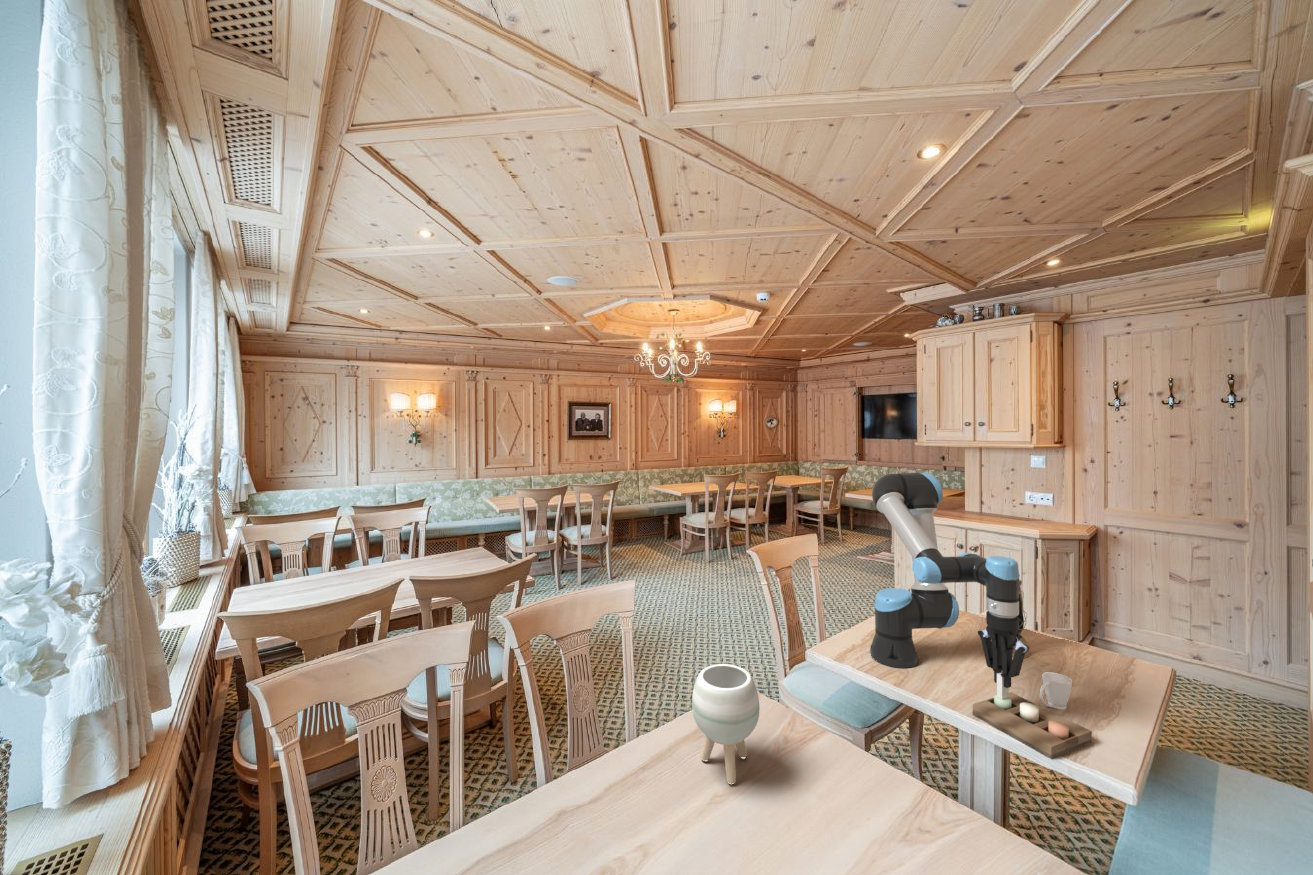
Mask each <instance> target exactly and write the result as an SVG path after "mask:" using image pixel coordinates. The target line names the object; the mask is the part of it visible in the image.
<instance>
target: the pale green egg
mask: <svg viewBox="0 0 1313 875" xmlns="http://www.w3.org/2000/svg"><path fill="white" fill-rule="evenodd" d="M993 698H994V704H995V705H997V706H999V707H1000V708H1002V709H1004V710H1008V709H1011V698H1010V697H1007V698H1004V699H1001V698H999V697H997V693H995V694H994V695H993Z"/></svg>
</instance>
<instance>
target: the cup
mask: <svg viewBox="0 0 1313 875" xmlns="http://www.w3.org/2000/svg"><path fill="white" fill-rule="evenodd" d="M1041 678H1042V683H1043V684H1042V685H1041V687H1040V690H1039V695H1038V696H1039V700H1040V701H1041V703H1043V705H1046V706H1048V707H1049V708H1052V709H1053V708H1055V709H1057V710H1067V707H1068V706H1067V704H1068V702H1069V700H1070V695H1071V691H1072V685H1073V680H1072V679H1071V678H1070V677H1069V676H1067V675H1065V674H1061V673H1057V672H1051V671H1050V672H1049V671H1048V672H1047V671H1044V672H1043V673H1042V674H1041ZM1044 693H1045V698H1046V700H1048V701H1047V703H1046V701H1045V700H1044Z"/></svg>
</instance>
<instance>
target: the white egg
mask: <svg viewBox="0 0 1313 875" xmlns="http://www.w3.org/2000/svg"><path fill="white" fill-rule="evenodd" d="M1020 717H1021V718H1023V719H1024V720H1026V721H1029V722H1038V721H1039V709H1038V707H1037V706H1035V705H1033V704H1030V703H1020Z"/></svg>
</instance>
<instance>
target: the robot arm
mask: <svg viewBox="0 0 1313 875" xmlns="http://www.w3.org/2000/svg"><path fill="white" fill-rule="evenodd" d="M943 495H944V494H943V488H942V484H941V483H940V481H939V479H938V478H936V476H935V475H933V474H932V473H926V472H904V473H903V472H902V473H887V474H884V475H882V476H880V478H879V479H877V480H876V481H875V483H874V485H873V488H872V490H871V498H872V502H873V504H874V506H875V508H876V509H877V511H878V512H879V513H880V514H884V516H885V517H886V519H887V521H888V522H889V523H890V525H891V527H892V529H893V530H894V531H895V533H896V534H897V536H898V538H899V539H900V541H901V542H902V544H904V546H905V548H906V549H907V551H908V552H909V555H910V557H911V563H912V564H911V567H912V568H911V569H912V572H913V577H914V583H913V584H912V585H911V586H910V590H908V589H906V588H897V587H888V588H884V589H881V590H879V591H878V592H877V593H876V594H875V597H874V605H873V606H874V622H875V623H874V624H875V628H874V629H875V630H874V631H875V632H874V636H873V639H872V642H871V645H870V648H869V649H870V650H869V654H871V655H870V657H871V656H872V657H873V658H874V659H875V660H874V659H873V658H872V657H871V658H872V659H873V660H874V661H876V660H877V661H878V662H877V661H876V662H877V663H879V662H880V663H879V664H881V665H885V666H888V667H891V668H899V669H908V668H909V669H910V668H913V667H916V666H917V665H918V663H919V654H918V652H917V651H916V647H915V644H914V643H915V642H914V640H913V630H915V629H916V630H917V629H940V630H941V629H945V628H951V627H953V626H955V624H956V623H957V621H958V619H959V615H960V607H959V602H958V601H957V599H956V597H955V595H954V594H952V593H951V592H949V587H947V586H946V585H945V584H947V583H948V584H949V583H956V584H957V583H977V584H980V585H982V586H984V587H985V588H986V589H985V590H986V592H985V597H986V598H985V599H986V602H985V603H986V606H985V607H986V610H987V611H986V613H985V618H986V619H985V620H986V621H985V623H986V625H987V626H986V628H984V629H980V630H978V631H977V635H978V636H979V638H980V640H981V644H982V649H983V653H984V658H985V663H986V666H987V667H988V668H990V669H992V671H993V677H994V678H993V682H994V683H995V684H996V694H997V697H999V698H1001V699H1004V698H1007V697H1009V693H1010V691H1009V690H1010V688H1011V687H1012V678H1016V677H1019V676H1020V672H1021V670H1022V666H1023V664H1024V659H1025V658H1024V656H1025V653H1026V652H1027V651H1028V650H1029V651H1030V646H1028V644H1027V645H1025V646H1024V645H1023V644H1022V643H1021V642H1020V637H1019V635H1018V631H1019V617H1018V615H1019V580H1020V572H1019V571H1020V570H1019V564H1018V561H1017V560H1015V559H1014V558H1011V557H1006V556H1000V555H993V556H988V557H987V558H985V557H983V556H981V555H979V554H977V553H972V552H963V553H961V554H959V555H958V556H943V555H942V553H941V552H940V550H939V548H938V541H937V533H936V526H935V519H934V517H935V516H934V513H935V512H936V511H937V510H938V505H939V504H940V503H941V502H942V500H943V499H942V498H943ZM1015 645H1016V648H1015V649H1016V651H1015V654H1014V657H1012V652H1013V650H1014V646H1015Z"/></svg>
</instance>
